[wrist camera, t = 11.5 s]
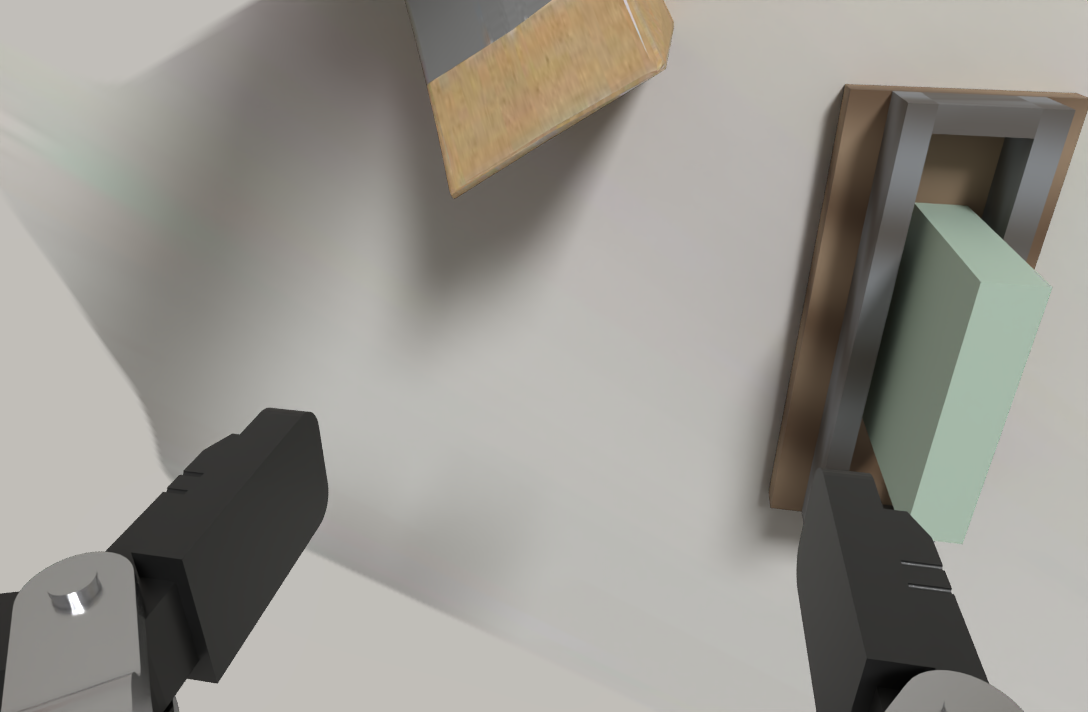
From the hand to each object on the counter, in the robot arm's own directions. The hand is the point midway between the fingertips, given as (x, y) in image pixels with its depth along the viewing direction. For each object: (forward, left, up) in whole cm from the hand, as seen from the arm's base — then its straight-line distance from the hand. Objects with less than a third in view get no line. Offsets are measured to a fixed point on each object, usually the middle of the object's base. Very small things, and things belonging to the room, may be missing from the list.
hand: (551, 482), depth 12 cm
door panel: (+9, +14, -29) cm, 33 cm away
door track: (+10, +14, -30) cm, 35 cm away
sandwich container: (-8, -7, -30) cm, 32 cm away
